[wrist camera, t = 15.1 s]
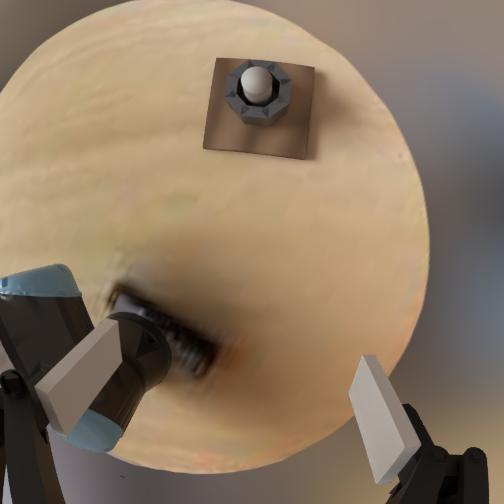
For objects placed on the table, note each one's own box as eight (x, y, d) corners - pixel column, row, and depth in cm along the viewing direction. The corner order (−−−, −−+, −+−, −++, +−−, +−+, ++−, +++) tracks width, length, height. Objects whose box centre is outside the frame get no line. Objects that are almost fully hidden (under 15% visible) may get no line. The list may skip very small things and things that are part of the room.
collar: (227, 123, 35) (221, 114, 30) (235, 72, 33) (230, 58, 28) (284, 129, 35) (287, 121, 30) (290, 78, 33) (293, 64, 28)
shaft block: (205, 148, 39) (181, 137, 28) (218, 61, 36) (201, 25, 25) (303, 160, 39) (317, 151, 28) (313, 71, 35) (327, 36, 24)
